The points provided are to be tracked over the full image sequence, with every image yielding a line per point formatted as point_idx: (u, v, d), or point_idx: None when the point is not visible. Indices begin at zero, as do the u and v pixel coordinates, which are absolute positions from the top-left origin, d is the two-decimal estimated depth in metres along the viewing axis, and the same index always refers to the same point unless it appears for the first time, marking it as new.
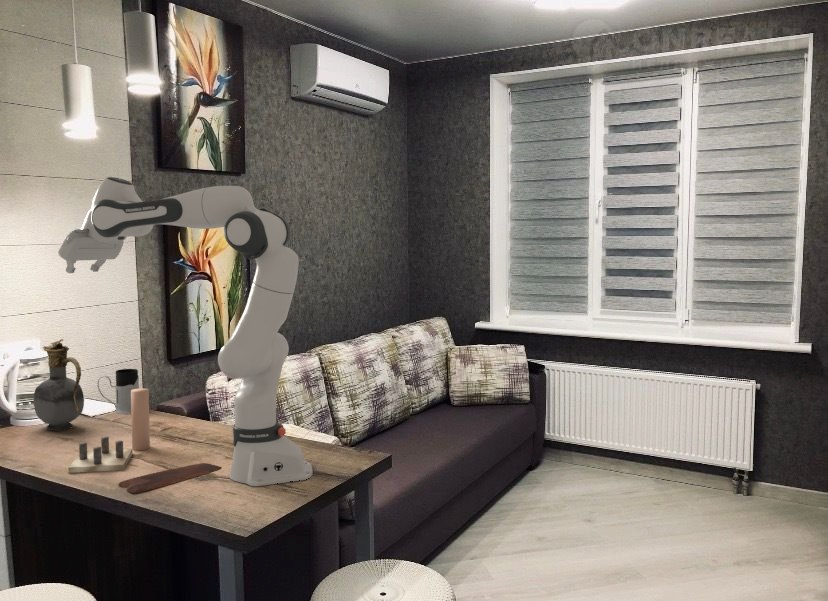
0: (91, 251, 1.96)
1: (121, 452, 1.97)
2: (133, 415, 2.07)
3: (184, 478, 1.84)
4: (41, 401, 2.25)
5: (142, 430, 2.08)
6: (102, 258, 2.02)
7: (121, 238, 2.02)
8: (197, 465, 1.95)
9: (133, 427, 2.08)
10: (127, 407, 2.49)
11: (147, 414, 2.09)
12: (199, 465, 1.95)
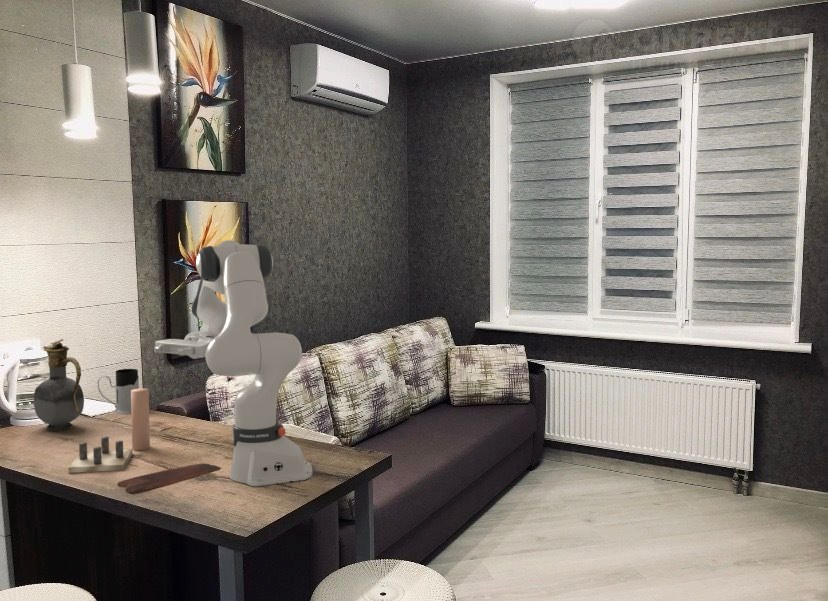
0: (179, 341, 2.27)
1: (121, 452, 1.97)
2: (133, 415, 2.07)
3: (183, 478, 1.84)
4: (41, 401, 2.25)
5: (142, 430, 2.08)
6: (188, 344, 2.22)
7: (209, 337, 2.28)
8: (197, 465, 1.95)
9: (133, 427, 2.08)
10: (127, 407, 2.49)
11: (147, 414, 2.09)
12: (199, 465, 1.95)
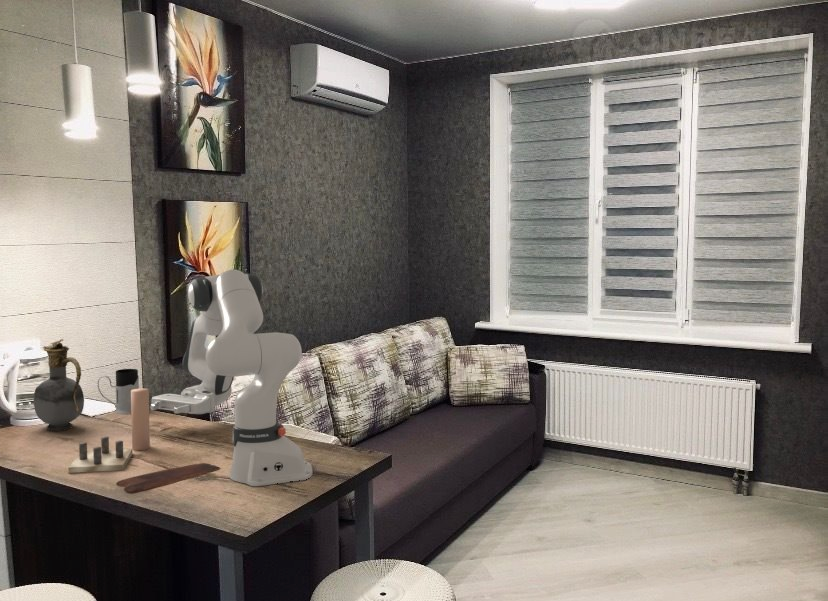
0: (176, 397, 2.26)
1: (121, 452, 1.97)
2: (133, 415, 2.07)
3: (182, 478, 1.84)
4: (41, 401, 2.25)
5: (142, 430, 2.08)
6: (184, 401, 2.21)
7: (205, 392, 2.27)
8: (196, 465, 1.95)
9: (133, 427, 2.08)
10: (127, 407, 2.49)
11: (147, 414, 2.09)
12: (198, 465, 1.95)
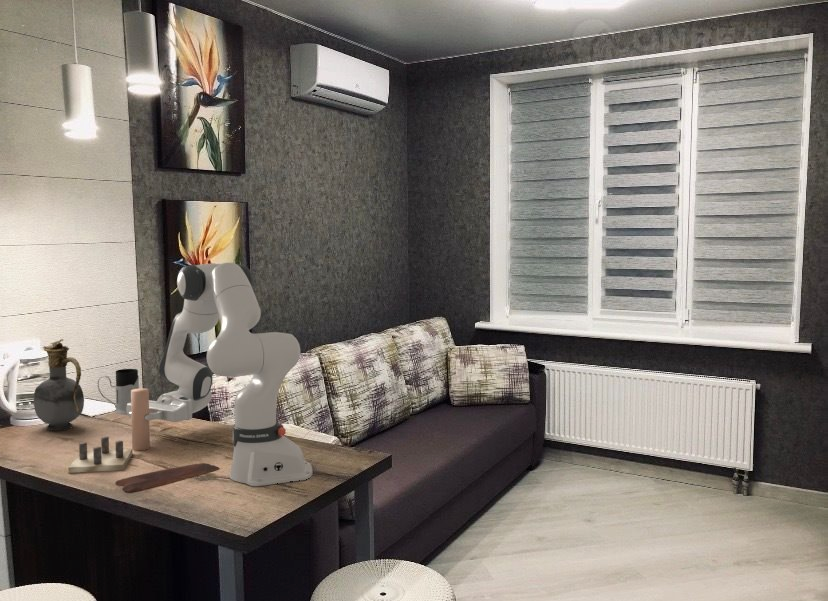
0: (152, 404, 2.16)
1: (121, 452, 1.97)
2: (133, 415, 2.07)
3: (180, 478, 1.84)
4: (41, 401, 2.25)
5: (142, 430, 2.08)
6: (160, 408, 2.12)
7: (183, 399, 2.18)
8: (196, 465, 1.95)
9: (133, 427, 2.08)
10: None
11: None
12: (198, 465, 1.95)
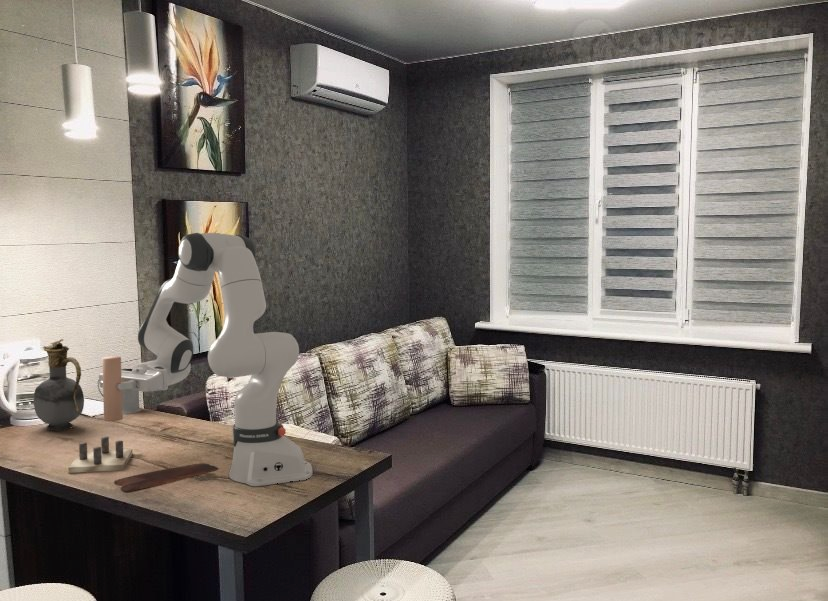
0: (125, 373, 2.06)
1: (121, 452, 1.97)
2: (104, 384, 1.96)
3: (179, 478, 1.85)
4: (41, 401, 2.25)
5: (114, 400, 1.97)
6: (134, 377, 2.01)
7: (158, 368, 2.07)
8: (195, 465, 1.95)
9: (104, 396, 1.97)
10: (127, 407, 2.49)
11: None
12: (197, 465, 1.95)
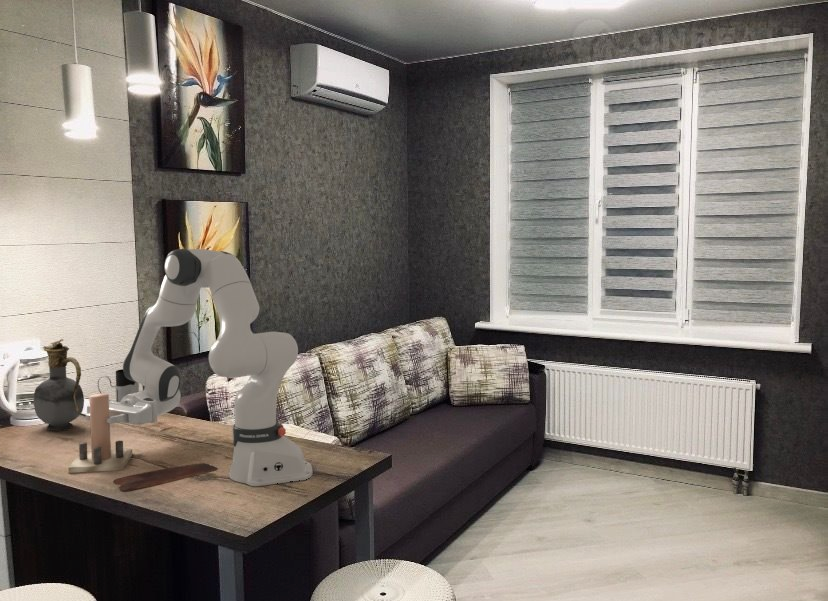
0: (114, 405, 2.02)
1: (121, 452, 1.97)
2: (92, 422, 1.93)
3: (177, 478, 1.85)
4: (41, 401, 2.25)
5: (102, 439, 1.94)
6: (122, 410, 1.98)
7: (148, 400, 2.04)
8: (195, 465, 1.95)
9: (92, 435, 1.94)
10: None
11: None
12: (197, 465, 1.95)
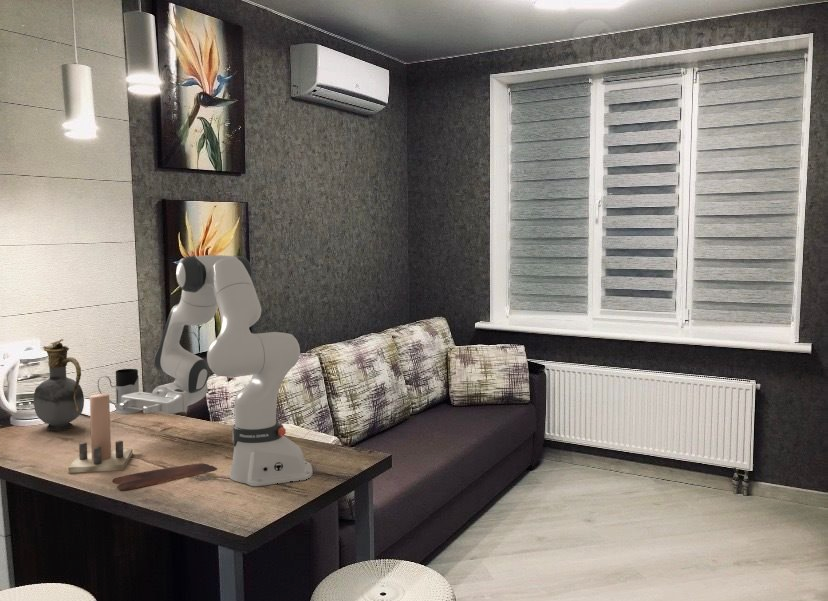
0: (146, 396, 2.14)
1: (121, 452, 1.97)
2: (92, 423, 1.93)
3: (176, 478, 1.85)
4: (41, 401, 2.25)
5: (102, 439, 1.94)
6: (155, 400, 2.10)
7: (178, 391, 2.15)
8: (195, 465, 1.95)
9: (92, 435, 1.94)
10: None
11: (107, 421, 1.95)
12: (197, 465, 1.95)
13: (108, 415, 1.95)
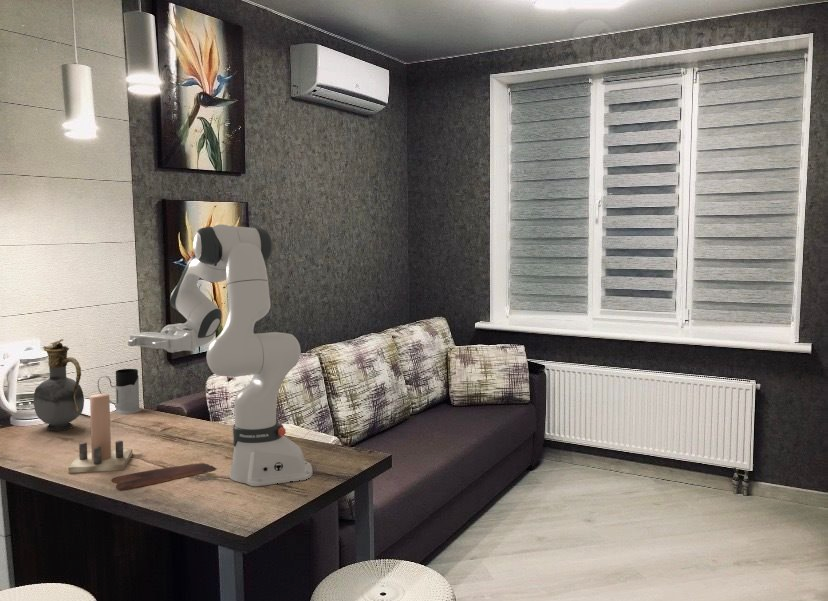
0: (155, 334, 2.15)
1: (121, 452, 1.97)
2: (92, 423, 1.93)
3: (174, 477, 1.85)
4: (41, 401, 2.25)
5: (102, 439, 1.94)
6: (164, 337, 2.11)
7: (187, 329, 2.16)
8: (194, 465, 1.95)
9: (92, 435, 1.94)
10: (127, 407, 2.49)
11: (108, 421, 1.95)
12: (196, 465, 1.95)
13: (108, 415, 1.95)
